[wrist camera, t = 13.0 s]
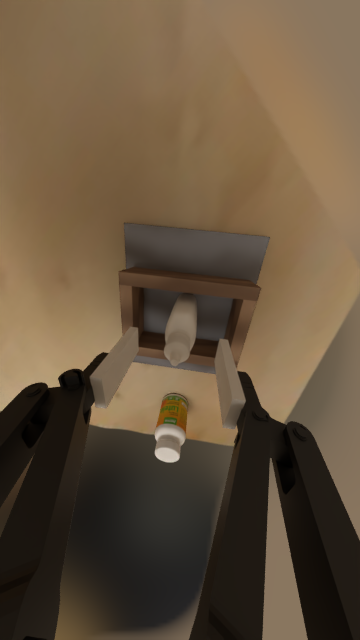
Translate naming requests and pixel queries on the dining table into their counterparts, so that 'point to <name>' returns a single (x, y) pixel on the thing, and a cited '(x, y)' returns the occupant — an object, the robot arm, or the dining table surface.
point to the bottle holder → (189, 289)
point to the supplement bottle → (171, 427)
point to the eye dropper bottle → (181, 329)
